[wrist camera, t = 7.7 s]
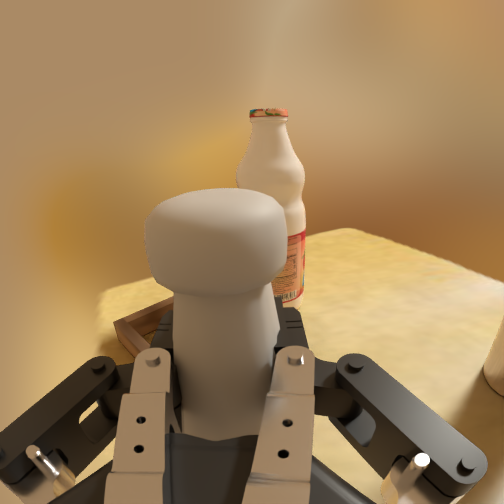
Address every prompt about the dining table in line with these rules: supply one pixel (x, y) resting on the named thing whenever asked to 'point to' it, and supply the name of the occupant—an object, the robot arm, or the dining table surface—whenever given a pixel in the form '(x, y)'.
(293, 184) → the fruit juice
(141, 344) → the caddy
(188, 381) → the salt shaker
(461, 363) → the dining table surface
